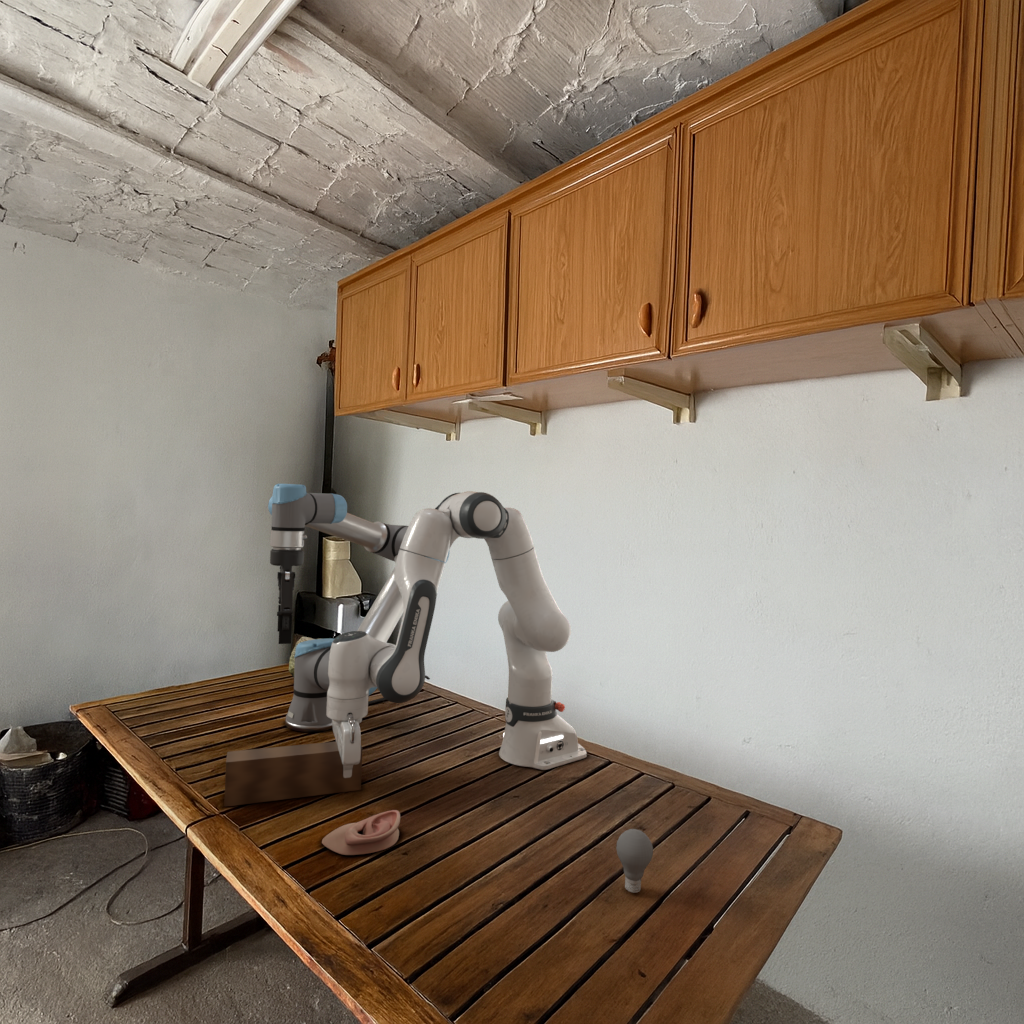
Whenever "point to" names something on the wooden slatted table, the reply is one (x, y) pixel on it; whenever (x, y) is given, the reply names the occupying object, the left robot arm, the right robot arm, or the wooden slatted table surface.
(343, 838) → the anatomical model
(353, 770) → the bar
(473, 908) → the wooden slatted table surface
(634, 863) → the light bulb
